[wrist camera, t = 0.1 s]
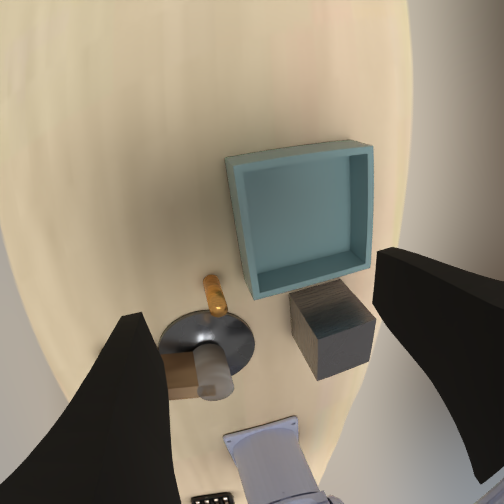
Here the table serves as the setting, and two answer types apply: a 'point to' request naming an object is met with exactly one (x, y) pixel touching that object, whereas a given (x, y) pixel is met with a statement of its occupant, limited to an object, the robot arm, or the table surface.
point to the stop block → (331, 328)
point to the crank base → (211, 330)
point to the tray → (302, 213)
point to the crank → (198, 374)
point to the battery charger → (214, 499)
